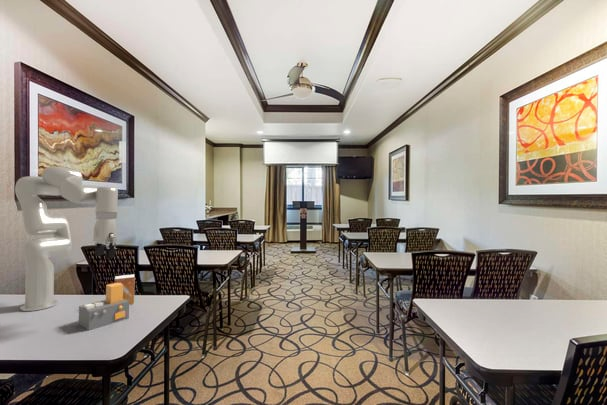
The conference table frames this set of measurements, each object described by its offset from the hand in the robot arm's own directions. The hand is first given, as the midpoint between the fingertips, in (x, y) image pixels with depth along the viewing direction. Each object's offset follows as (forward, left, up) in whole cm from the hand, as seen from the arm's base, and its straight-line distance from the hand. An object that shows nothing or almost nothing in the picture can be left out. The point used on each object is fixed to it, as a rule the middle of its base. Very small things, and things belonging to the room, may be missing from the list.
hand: (104, 256), depth 117 cm
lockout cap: (+4, +2, -19) cm, 19 cm away
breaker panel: (+4, -1, -26) cm, 26 cm away
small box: (-11, +13, -26) cm, 31 cm away
